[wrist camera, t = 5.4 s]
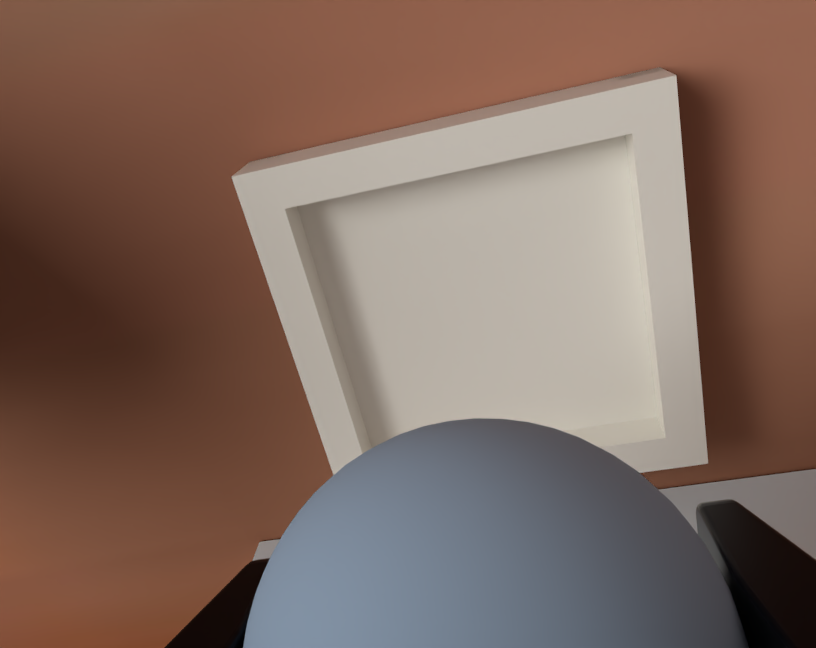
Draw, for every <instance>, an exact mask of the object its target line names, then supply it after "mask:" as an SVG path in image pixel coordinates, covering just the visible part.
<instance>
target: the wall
mask: <svg viewBox="0 0 816 648" xmlns="http://www.w3.org/2000/svg"><path fill="white" fill-rule="evenodd" d="M659 491H660V492H661V493H662V494H663V495H665V496H666V497H667V498H668V499H669V500H670V501H671V502H672V503H673V504H674V505H675V506H676V508H677V509H678V510H679V511H680V512H681V514H682V515H683V516H684V517H685V518H686V520H687V521H688V522H689V523H690V525H691V526H692V527H693V529H694V530H695V531H696V533H697V534H698V531H697V520H696V508H697V506H698V505H699V504H700V503H702V502H710V501H718V500H725V499H732V500H735V501H737V502H738V503H740V504H741V505H743V506H744V507H745V508H747V509H748V510H749V511H751V512H752V513H753V514H755V515H756V516H757V517H759V518H760V519H761V520H763V521H764V522H766V523H767V524H768V525H770V526H771V527H772V528H774V529H775V530H776V531H778V532H779V533H780V534H782V535H783V536H785V537H786V538H787V539H789V540H790V541H791V542H793V543H794V544H795V545H797V546H798V547H799V548H801V549H802V550H803V551H805V552H806V553H808V554H809V555H810V556H812V557H813V558H814V559H816V469H812V470H804V471H796V472H789V473H781V474H773V475H766V476H758V477H750V478H743V479H735V480H728V481H720V482H712V483H705V484H697V485H689V486H682V487H674V488H667V489H659ZM279 541H280V539H277V540H270V541H262V542H259V545H258V548H257V550H256V553H255V555H254V558H253V561H254V560H258V559H266V558H270V557H271V555H272V553H273V551H274V549H275V547H276V546H277V544H278V542H279Z"/></svg>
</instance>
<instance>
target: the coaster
mask: <svg viewBox="0 0 816 648" xmlns="http://www.w3.org/2000/svg"><path fill="white" fill-rule="evenodd" d="M232 180H233V183H234V186H235V189H236V192H237V195H238V198H239V200H240V203H241V206H242V209H243V212H244V215H245V218H246V221H247V224H248V227H249V230H250V233H251V236H252V238H253V241H254V244H255V247H256V250H257V253H258V256H259V259H260V262H261V265H262V268H263V271H264V273H265V276H266V279H267V282H268V285H269V288H270V291H271V294H272V297H273V300H274V303H275V306H276V308H277V311H278V314H279V317H280V320H281V323H282V326H283V329H284V332H285V335H286V338H287V341H288V343H289V346H290V349H291V352H292V355H293V358H294V361H295V364H296V367H297V370H298V373H299V376H300V379H301V381H302V384H303V387H304V390H305V393H306V396H307V399H308V402H309V405H310V408H311V411H312V414H313V416H314V419H315V422H316V425H317V428H318V431H319V434H320V437H321V440H322V443H323V446H324V449H325V451H326V454H327V457H328V460H329V463H330V466H331V469H332V472H333V475H335V474H336V473H337V472H338V471H339V470H340V469H341V468H342V467H344V466H345V465H346V464H348V463H349V462H351V461H352V460H354V459H355V458H357V457H358V456H360V455H361V454H363V453H364V452H366V451H368V450H369V449H371V448H373V447H375V446H377V445H379V444H381V443H383V442H385V441H387V440H389V439H391V438H393V437H395V436H397V435H399V434H402V433H405V432H408V431H411V430H414V429H417V428H420V427H423V426H427V425H432V424H436V423H441V422H446V421H453V420H463V419H473V418H487V419H508V420H516V421H524V422H530V423H535V424H539V425H543V426H547V427H551V428H555V429H558V430H561V431H563V432H566V433H569V434H572V435H574V436H577V437H580V438H582V439H584V440H586V441H587V442H589V443H591V444H593V445H595V446H597V447H599V448H601V449H603V450H605V451H607V452H609V453H611V454H613V455H614V456H616V457H617V458H619V459H620V460H622V461H623V462H625V463H626V464H628V465H629V466H631V467H632V468H634V469H635V470H637V471H638V472H639V473H643V472H650V471H657V470H665V469H672V468H679V467H687V466H694V465H702V464H708V456H707V443H706V431H705V419H704V407H703V395H702V382H701V370H700V358H699V346H698V334H697V322H696V309H695V297H694V285H693V273H692V261H691V248H690V236H689V224H688V212H687V200H686V188H685V175H684V163H683V151H682V139H681V127H680V114H679V102H678V90H677V78H676V75H675V74H673V73H671V72H669V71H667V70H665V69H662V68H660V67H659V68H654V69H650V70H646V71H641V72H637V73H633V74H628V75H624V76H620V77H615V78H611V79H607V80H602V81H598V82H594V83H589V84H585V85H581V86H576V87H572V88H568V89H564V90H559V91H555V92H551V93H546V94H542V95H538V96H533V97H529V98H525V99H520V100H516V101H512V102H507V103H503V104H499V105H494V106H490V107H486V108H481V109H477V110H473V111H468V112H464V113H460V114H455V115H451V116H447V117H442V118H438V119H434V120H429V121H425V122H421V123H416V124H412V125H408V126H403V127H399V128H395V129H390V130H386V131H382V132H377V133H373V134H369V135H364V136H360V137H356V138H351V139H347V140H343V141H338V142H334V143H330V144H325V145H321V146H317V147H312V148H308V149H304V150H299V151H295V152H291V153H287V154H282V155H278V156H274V157H269V158H265V159H261V160H256V161H252V162H249V163H248V164H247V165H245V166H244V167H243V168H242V169H240V170H239V171H238V172H237V173H235V174H234V175H233V176H232Z"/></svg>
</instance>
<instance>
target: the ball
mask: <svg viewBox="0 0 816 648" xmlns="http://www.w3.org/2000/svg"><path fill="white" fill-rule="evenodd" d="M243 648H749V646H748V641H747V638H746V635H745V632H744V629H743V625H742V622H741V619H740V616H739V613H738V610H737V608H736V605H735V602H734V600H733V597H732V594H731V591H730V589H729V587H728V585H727V583H726V581H725V579H724V577H723V575H722V573H721V571H720V570H719V568H718V566H717V564H716V562H715V560H714V559H713V557H712V555H711V554H710V552H709V550H708V549H707V547H706V545H705V543H704V542H703V541H702V539H701V538H700V537H699V535H698V534H697V533H696V531H695V530H694V529H693V527H692V526H691V525H690V523H689V522H688V521H687V520H686V518H685V517H684V516H683V515H682V514H681V512H680V511H679V510H678V509H677V508H676V506H675V505H674V504H673V503H672V502H671V501H670V500H669V499H668V498H667V497H666V496H665V495H663V494H662V493H661V492H660V491H659V490H658V489H657V488H656V487H655V486H653V485H652V484H651V483H650V482H649V481H648V480H647V479H646V478H645V477H643V476H642V475H641V474H640V473H639V472H638V471H637V470H635V469H634V468H632V467H631V466H629V465H628V464H626V463H625V462H623V461H622V460H620V459H619V458H617V457H616V456H614V455H613V454H611V453H609V452H607V451H605V450H603V449H601V448H599V447H597V446H595V445H593V444H591V443H589V442H587V441H586V440H584V439H582V438H580V437H577V436H574V435H572V434H569V433H566V432H563V431H561V430H558V429H555V428H551V427H547V426H543V425H539V424H535V423H530V422H524V421H516V420H508V419H487V418H473V419H463V420H453V421H446V422H441V423H436V424H432V425H427V426H423V427H420V428H417V429H414V430H411V431H408V432H405V433H402V434H399V435H397V436H395V437H393V438H391V439H389V440H387V441H385V442H383V443H381V444H379V445H377V446H375V447H373V448H371V449H369V450H368V451H366V452H364V453H363V454H361V455H360V456H358V457H357V458H355V459H354V460H352V461H351V462H349V463H348V464H346V465H345V466H344V467H342V468H341V469H340V470H339V471H338V472H337V473H336V474H335V475H333V476H332V477H331V478H330V479H329V480H328V481H327V482H326V483H325V484H323V485H322V486H321V487H320V488H319V489H318V490H317V491H316V492H315V493H314V494H313V495H312V496H311V498H310V499H309V500H308V501H307V502H306V504H305V505H304V506H303V507H302V508H301V510H300V511H299V512H298V513H297V515H296V516H295V518H294V519H293V520H292V522H291V523H290V525H289V526H288V528H287V529H286V530H285V532H284V534H283V536H282V537H281V539H280V541H279V542H278V544H277V546H276V547H275V549H274V551H273V553H272V555H271V557H270V559H269V562H268V564H267V566H266V568H265V570H264V572H263V575H262V577H261V580H260V583H259V585H258V588H257V591H256V593H255V596H254V600H253V604H252V607H251V611H250V614H249V618H248V622H247V627H246V633H245V639H244V645H243Z"/></svg>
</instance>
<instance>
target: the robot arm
mask: <svg viewBox="0 0 816 648" xmlns="http://www.w3.org/2000/svg"><path fill="white" fill-rule="evenodd" d="M696 520H697V531H698V535H699V537H700V538H701V539H702V541H703V542H704V543H705V545H706V547H707V549H708V550H709V552H710V554H711V555H712V557H713V559H714V560H715V562H716V564H717V566H718V568H719V570H720V571H721V573H722V575H723V577H724V579H725V581H726V583H727V585H728V587H729V589H730V591H731V594H732V597H733V600H734V602H735V605H736V608H737V610H738V613H739V616H740V619H741V622H742V625H743V629H744V632H745V635H746V638H747V641H748V646H749V648H816V559H814V558H813V557H812V556H810V555H809V554H808V553H806V552H805V551H803V550H802V549H801V548H799V547H798V546H797V545H795V544H794V543H793V542H791V541H790V540H789V539H787V538H786V537H785V536H783V535H782V534H780V533H779V532H778V531H776V530H775V529H774V528H772V527H771V526H770V525H768V524H767V523H766V522H764V521H763V520H761V519H760V518H759V517H757V516H756V515H755V514H753V513H752V512H751V511H749V510H748V509H747V508H745V507H744V506H743V505H741V504H740V503H738V502H737V501H735V500H732V499H725V500H718V501H710V502H702V503H700V504H699V505H698V506H697V508H696ZM269 559H270V558H266V559H258V560H254V561H251V562H250V563H249V564H247V565H246V566H245V567H244V568H243V569H242V570H241V571H240V572H239V573H238V574H237V575H236V576H235V577H234V578H233V579H232V580H231V581H230V582H229V583H228V584H227V585H226V586H225V587H224V588H223V589H222V590H221V591H220V592H219V593H218V594H217V595H216V596H215V597H214V598H213V599H212V600H211V601H210V602H209V603H208V604H207V605H206V606H205V607H204V608H203V609H202V610H201V611H200V612H199V613H198V614H197V615H196V616H195V617H194V618H193V619H192V620H191V621H190V622H189V623H188V624H187V625H186V626H185V627H184V628H183V629H182V630H181V631H180V632H179V633H178V634H177V635H176V636H175V637H174V638H173V639H172V640H171V641H170V642H169V643H168V644H167V645H166V647H165V648H243V645H244V639H245V633H246V627H247V622H248V618H249V614H250V611H251V607H252V604H253V600H254V596H255V593H256V591H257V588H258V585H259V583H260V580H261V577H262V575H263V572H264V570H265V568H266V566H267V564H268V562H269Z"/></svg>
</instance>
